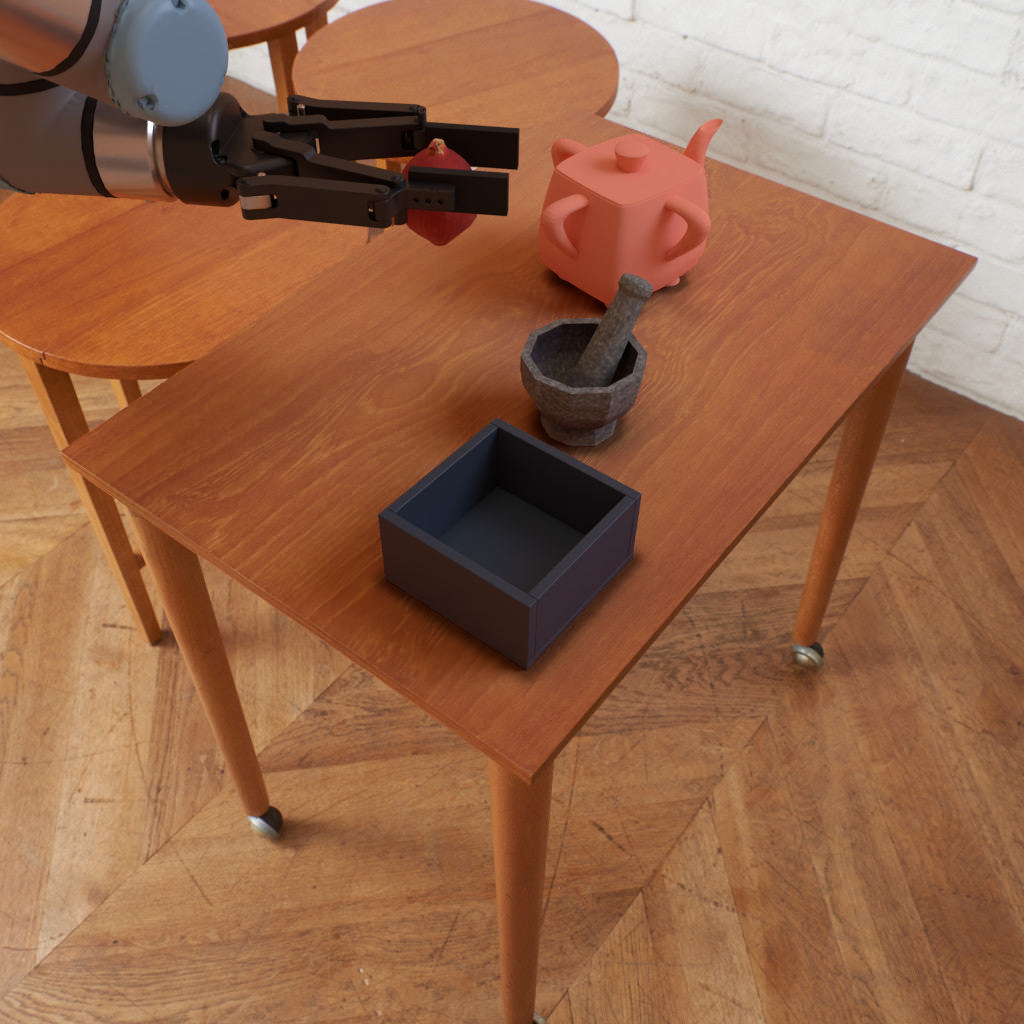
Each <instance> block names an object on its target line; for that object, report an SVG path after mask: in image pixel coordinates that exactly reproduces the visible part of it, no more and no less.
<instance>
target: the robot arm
mask: <svg viewBox="0 0 1024 1024" xmlns="http://www.w3.org/2000/svg"><path fill="white" fill-rule="evenodd" d="M225 30H226V29H225V27H224V25H223V23H222V20H221V19H220V16H219V15H218V13H217V12H216V10H215V9H214V7H213V6H212V5H211V4H210V3H209V1H207V0H0V190H6V191H13V192H15V193H18V194H23V195H31V196H35V195H36V194H40V195H41V194H49V195H66V196H67V195H70V196H84V197H85V196H87V197H103V198H106V199H109V198H110V199H126V200H137V201H138V200H139V201H146V202H147V203H150V204H155V203H157V202H160V203H161V202H162V203H175V202H177V201H178V200H179V201H180V202H182V203H183V204H185V205H189V206H190V205H191V206H204V207H217V208H231V207H233V206H235V205H236V204H237V203H239V204H240V211H241V216H242V219H244V220H246V221H258V220H271V219H283V220H293V221H302V222H303V221H304V222H311V223H312V222H313V223H323V224H332V225H341V226H342V225H343V226H351V227H361V228H371V229H382V230H383V229H389V228H391V227H392V225H393V222H394V226H404V225H406V223H407V222H408V214H407V209H414V210H427V211H441V212H455V213H468V214H477V215H480V216H481V215H482V216H495V217H496V216H498V217H508V214H509V202H510V201H509V200H510V197H509V196H510V173H509V172H503V171H501V172H500V171H488V170H475V169H474V170H473V169H472V170H462V169H448V168H434V167H421V166H410V167H409V169H408V180H405V175H404V174H403V173H402V172H399V171H395V170H391V169H387V168H382V167H377V166H373V165H369V164H364V163H360V162H355V161H367V160H368V161H369V160H382V159H394V158H395V159H396V158H413V157H414V156H415V155H416V154H418V153H419V152H421V151H422V150H424V149H426V148H428V147H429V145H430V143H431V142H432V140H434V139H435V138H437V139H442V140H443V141H444V143H445V145H446V147H447V148H449V149H451V150H453V151H454V152H456V153H457V154H458V155H460V156H461V157H462V158H463V159H464V160H465V161H466V162H467V163H468V164H469V165H470V167H471V168H484V169H496V170H497V169H499V170H510V171H511V170H512V171H518V169H519V167H520V166H519V164H520V131H521V130H520V129H521V128H519V127H506V126H493V125H482V124H481V125H479V124H466V123H465V124H464V123H449V122H434V121H428V119H427V118H428V117H427V115H428V114H427V107H426V106H424V105H422V104H421V105H420V104H417V103H404V102H401V103H400V102H381V101H380V102H379V101H378V102H377V101H359V100H338V99H319V98H316V97H315V98H314V97H310V96H306V95H301V94H290V95H288V96H287V97H286V105H287V109H286V110H285V111H284V112H283V113H276V112H268V113H262V114H253V115H251V114H249V113H248V112H246V111H245V110H244V108H243V107H242V106H241V104H240V102H239V100H238V99H237V98H236V97H235V96H234V95H233V94H231V93H229V92H226V91H222V87H223V84H224V83H225V77H226V75H227V72H228V67H229V44H228V37H227V33H226V31H225ZM317 140H318V146H317ZM318 147H319V148H318ZM318 149H319V152H318ZM393 219H394V221H393Z"/></svg>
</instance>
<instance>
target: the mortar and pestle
mask: <svg viewBox="0 0 1024 1024" xmlns="http://www.w3.org/2000/svg"><path fill="white" fill-rule="evenodd" d="M618 285H619V289H618V291H617V293H616V295H615V297H614V299H613V300H612V302H611V304H610V306H609V308H606V311H605V313H604V315H603V317H602V319H601V318H598V317H579V318H575V317H574V318H558V319H556V320H554V321H552V322H549V323H547V324H545V325H544V326H542V327H539V328H537V329H535V330H533V331H531V332H530V333H529V334H528V337H527V339H526V342H525V344H524V347H523V349H522V352H521V353H520V358H519V359H520V363H519V370H520V376H521V383H522V386H523V387H524V389H525V390H526V392H527V394H528V395H529V397H530V399H531V400H532V402H533V404H534V405H535V407H536V408H537V410H538V411H539V413H540V415H541V416H540V424H541V426H542V427H543V429H544V430H545V432H546V434H547V436H548V437H549V438H550V439H552V440H555V441H556V442H559V443H561V444H564V445H566V446H567V447H573V448H574V447H595V446H597V445H598V444H601V443H602V442H604V441H606V440H607V439H610V438H611V437H613V435H614V431H615V428H616V425H617V422H618V419H620V418H621V417H623V416H625V415H626V414H627V413H628V412H629V411H630V410H631V409H632V408H633V407H634V406H635V403H636V402H637V401H636V400H637V399H638V395H639V393H640V388H641V385H642V383H643V377H644V374H645V370H646V367H647V360H648V351H647V350H646V349H645V347H644V346H643V345H642V344H641V342H640V341H639V339H638V338H637V337H636V336H635V335H634V334H633V330H634V328H635V325H636V324H637V323H636V322H637V321H638V319H639V316H640V314H641V311H642V310H643V306H644V304H645V302H646V301H648V300H649V299H651V297H652V295H653V286H652V285H651V284H650V283H649V282H648V281H646V280H645V279H643V278H641V277H639V276H636V275H633V274H628V273H625V274H623V275H622V276H621V278H620V280H619V282H618Z"/></svg>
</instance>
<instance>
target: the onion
mask: <svg viewBox="0 0 1024 1024" xmlns="http://www.w3.org/2000/svg"><path fill="white" fill-rule="evenodd" d="M410 166H421V167H434V168H448V169H462V170H473V169H472V167H470V165H469V164H468V163H467V162H466V161H465V160H464V159H463V158H462V157H461V156H460V155H458V154H457V153H456V152H454V151H453V150H451V149H449V148H447V147H446V145H445V143H444V141H443V140H442V139H437V138H435V139H434V140H432V142H431V143H430V145H429V147H428V148H426V149H424V150H422V151H421V152H419V153H418V154H416V155H415V156H414V157H411V159H410V160H409V161H408V162H407V163H406V165H405V166H404V167H403V169H402V171H401V173H403V174H404V175H405V180H408V169H409V167H410ZM407 214H408V222H407V223H406V224H405V225H406V226H407V228H408V229H409V230H411V231H412V232H414V233H415V234H416V235H418V236H419V237H420V238H423V239H425V240H427V241H429V242H430V243H431V244H432V245H434V246H436V247H444V246H446V245H448V244H449V243H451V242H452V241H453V240H455V239H456V238H457V237H459V236H461V235H462V234H463V233H464V232H465V231H466V230H468V229H469V228H470V227H472V225H473V223H474V222H475V221H476V219H477V216H478V214H468V213H455V212H441V211H427V210H414V209H407Z"/></svg>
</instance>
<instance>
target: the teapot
mask: <svg viewBox="0 0 1024 1024" xmlns="http://www.w3.org/2000/svg"><path fill="white" fill-rule="evenodd" d="M723 123H724V120H723V119H722V118H713V119H710V120H708V121H706V122H704V123H703V124H701V126H700V127H698V128H697V129H696V131H695V133H694V134H693V135H692V137H691V138H690V140H689V142H688V144H687V146H686V148H685V150H684V151H683V153H680V152H679V151H676V150H675V149H673V148H671V147H669V146H667V145H666V144H663V143H661V142H659V141H657V140H654V139H652V138H650V137H648V136H646V135H643V134H641V133H637V132H635V133H634V132H633V133H628V134H624V135H621V136H618V137H614V138H612V139H609V140H606V141H603V142H600V143H598V144H597V143H596V144H594V145H592V146H590V147H587V146H586V145H584V144H582V143H580V142H578V141H576V140H573V139H570V138H558V139H557V140H555V141H554V142H553V143H552V144H551V150H550V151H551V153H550V154H551V161H552V164H553V167H554V169H553V171H552V174H551V177H550V180H549V182H548V183H549V184H548V186H547V190H546V193H545V197H544V200H543V203H542V209H541V213H540V219H539V224H538V225H539V226H538V232H537V247H538V252H539V255H540V258H541V260H542V263H543V265H544V266H545V267H547V269H550V270H551V271H552V272H553V273H555V274H556V275H557V276H558V277H559V278H560V279H561V280H563V281H566V282H568V283H570V284H571V285H572V286H574V287H576V288H577V289H579V290H580V291H583V292H584V293H586V294H588V295H589V296H591V297H592V298H594V299H596V300H599V301H600V302H602V303H603V304H604V306H605V307H606V309H608V308H609V306H610V304H611V302H612V300H613V299H614V297H615V295H616V293H617V291H618V289H619V285H618V282H619V280H620V278H621V276H622V275H623V274H625V273H628V274H633V275H636V276H639V277H641V278H643V279H645V280H646V281H648V282H649V283H650V284H651V285H652V286H653V292H657V291H658V290H660V289H662V288H664V287H674V286H677V285H678V284H679V283H680V282H681V281H680V280H681V278H680V277H681V276H683V275H684V274H686V273H687V272H689V271H690V270H691V269H692V268H693V267H695V265H696V264H698V261H699V260H700V258H701V256H702V255H703V253H704V251H705V247H706V243H707V237H708V236H709V234H710V232H711V229H712V221H711V218H710V216H709V195H708V186H707V185H708V184H707V176H706V170H705V161H706V155H707V151H708V148H709V145H710V143H711V141H712V139H713V137H714V136H715V135H716V133H717V131H718V130H720V128H721V127H722V125H723Z"/></svg>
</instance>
